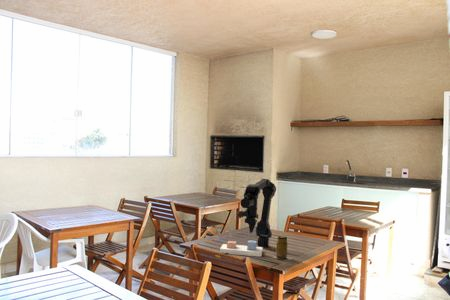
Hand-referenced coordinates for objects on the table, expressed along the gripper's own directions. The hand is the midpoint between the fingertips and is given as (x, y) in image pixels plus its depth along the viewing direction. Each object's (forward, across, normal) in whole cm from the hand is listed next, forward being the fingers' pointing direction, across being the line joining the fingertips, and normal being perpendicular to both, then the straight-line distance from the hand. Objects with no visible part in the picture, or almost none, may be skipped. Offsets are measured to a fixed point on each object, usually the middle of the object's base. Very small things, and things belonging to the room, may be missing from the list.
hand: (251, 232), depth 229 cm
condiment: (+12, +5, +19) cm, 23 cm away
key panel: (+12, 0, -5) cm, 13 cm away
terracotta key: (+10, 0, -11) cm, 15 cm away
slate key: (+9, 0, +1) cm, 9 cm away
